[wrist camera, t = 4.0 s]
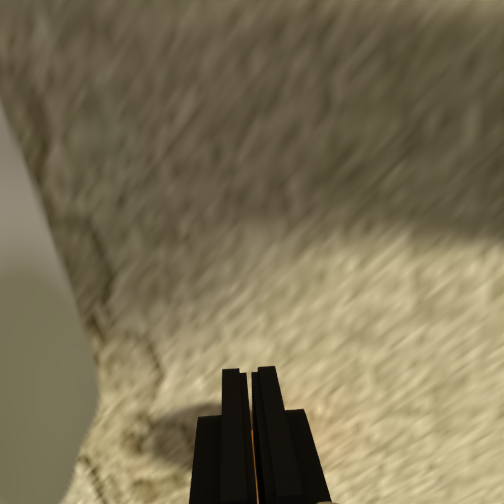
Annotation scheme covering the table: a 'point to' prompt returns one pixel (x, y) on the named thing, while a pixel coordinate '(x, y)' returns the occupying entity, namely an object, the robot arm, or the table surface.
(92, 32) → the table surface
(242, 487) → the robot arm
